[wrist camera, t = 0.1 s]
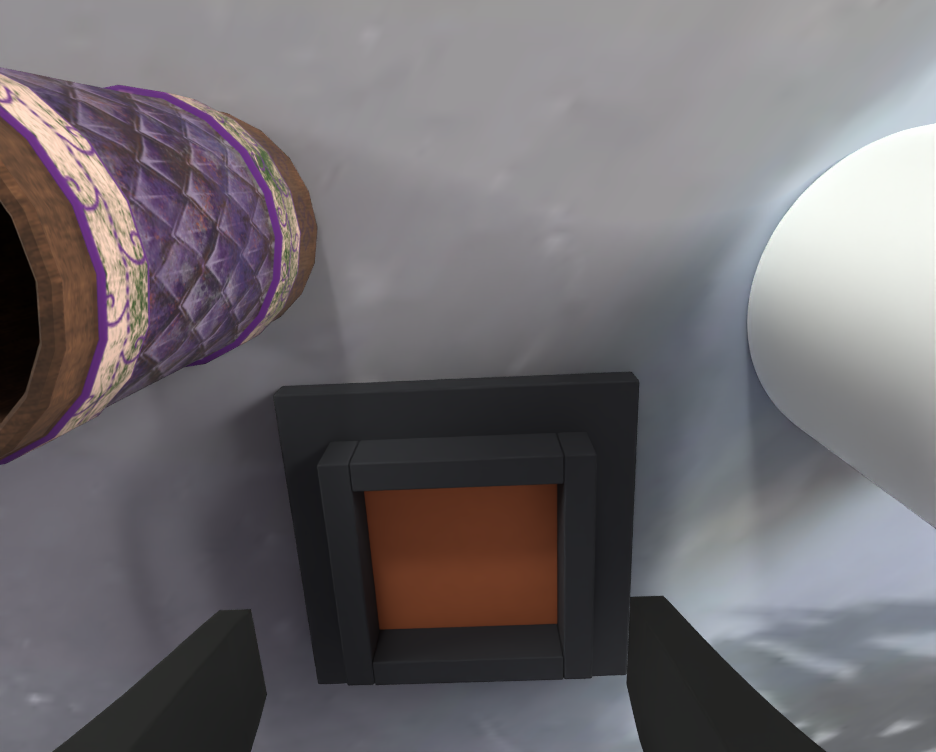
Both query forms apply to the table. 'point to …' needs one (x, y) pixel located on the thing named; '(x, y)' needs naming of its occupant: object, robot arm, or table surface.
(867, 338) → the tall pillar cylinder
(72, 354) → the mug
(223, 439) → the table surface
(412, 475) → the base pad
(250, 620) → the robot arm
